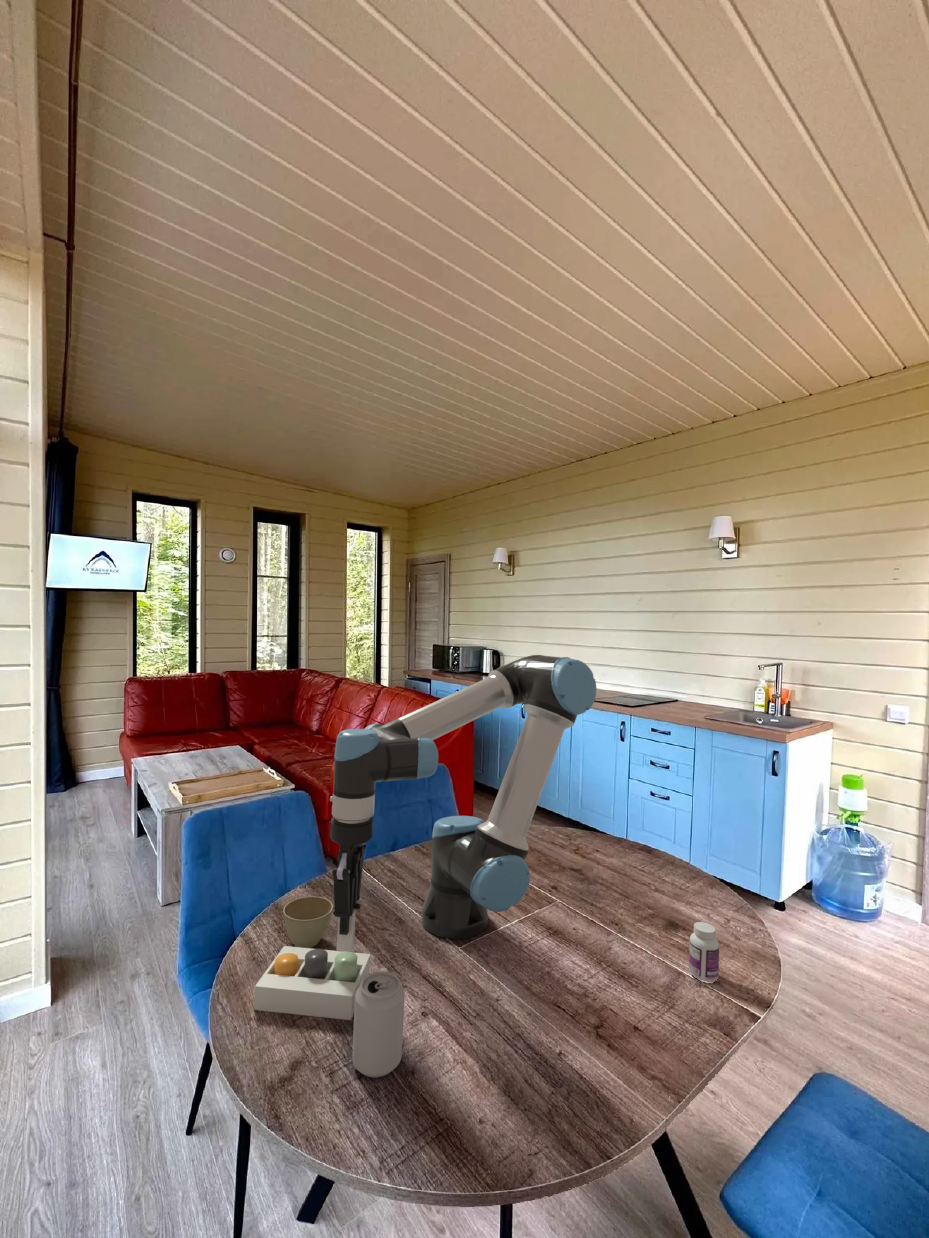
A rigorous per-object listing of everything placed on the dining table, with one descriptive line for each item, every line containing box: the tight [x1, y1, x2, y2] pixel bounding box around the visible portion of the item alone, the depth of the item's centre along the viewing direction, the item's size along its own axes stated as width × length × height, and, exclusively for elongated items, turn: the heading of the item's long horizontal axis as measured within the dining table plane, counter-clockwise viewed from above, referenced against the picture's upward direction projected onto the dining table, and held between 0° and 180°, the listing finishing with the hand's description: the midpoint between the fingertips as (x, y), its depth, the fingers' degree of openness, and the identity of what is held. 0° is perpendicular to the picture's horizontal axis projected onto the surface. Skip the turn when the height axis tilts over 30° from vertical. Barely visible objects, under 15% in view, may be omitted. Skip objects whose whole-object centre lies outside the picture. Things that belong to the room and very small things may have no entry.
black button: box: [304, 948, 328, 980], centre depth 99 cm, size 4×4×4 cm
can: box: [351, 971, 406, 1079], centre depth 83 cm, size 8×8×12 cm
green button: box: [334, 951, 357, 983], centre depth 98 cm, size 4×4×4 cm
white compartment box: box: [253, 945, 371, 1021], centre depth 99 cm, size 17×12×4 cm
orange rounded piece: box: [274, 953, 298, 976], centre depth 99 cm, size 4×4×4 cm
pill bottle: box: [688, 921, 720, 982], centre depth 108 cm, size 5×5×10 cm
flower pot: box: [282, 895, 334, 949], centre depth 114 cm, size 10×10×7 cm
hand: (345, 948), depth 98 cm, fingers closed
